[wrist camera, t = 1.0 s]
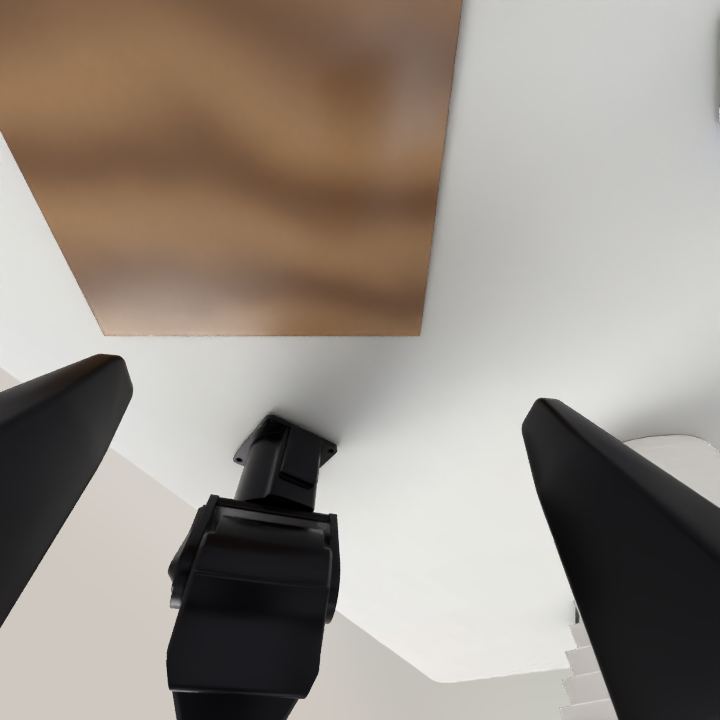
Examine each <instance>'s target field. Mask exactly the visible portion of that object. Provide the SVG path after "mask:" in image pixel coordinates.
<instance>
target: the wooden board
mask: <svg viewBox="0 0 720 720" xmlns="http://www.w3.org/2000/svg"><path fill="white" fill-rule="evenodd" d="M462 1H463V0H0V131H1V133H2V135H3V137H4V139H5V141H6V143H7V145H8V147H9V149H10V151H11V153H12V155H13V157H14V159H15V161H16V163H17V165H18V167H19V169H20V171H21V172H22V174H23V176H24V178H25V180H26V182H27V184H28V186H29V188H30V190H31V192H32V194H33V196H34V198H35V200H36V202H37V204H38V206H39V208H40V210H41V212H42V214H43V216H44V218H45V220H46V222H47V224H48V226H49V228H50V230H51V232H52V234H53V235H54V237H55V239H56V241H57V243H58V245H59V247H60V249H61V251H62V253H63V255H64V257H65V259H66V261H67V263H68V265H69V267H70V269H71V271H72V273H73V275H74V277H75V279H76V281H77V283H78V285H79V287H80V289H81V291H82V293H83V295H84V297H85V298H86V300H87V302H88V304H89V306H90V308H91V310H92V312H93V314H94V316H95V318H96V320H97V322H98V324H99V326H100V328H101V330H102V332H103V334H104V336H420V331H421V323H422V315H423V307H424V299H425V291H426V284H427V276H428V268H429V260H430V252H431V244H432V237H433V229H434V221H435V213H436V205H437V197H438V190H439V182H440V174H441V166H442V158H443V150H444V143H445V135H446V127H447V119H448V111H449V103H450V96H451V88H452V80H453V72H454V64H455V56H456V49H457V41H458V33H459V25H460V17H461V9H462Z"/></svg>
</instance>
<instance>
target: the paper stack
mask: <svg viewBox="0 0 720 720" xmlns="http://www.w3.org/2000/svg"><path fill="white" fill-rule="evenodd" d="M622 443H624V444H625V445H627V446H628V447H630V448H631V449H633V450H634V451H636V452H637V453H639V454H640V455H642V456H643V457H645V458H646V459H648V460H649V461H651V462H652V463H654V464H655V465H657V466H658V467H660V468H661V469H663V470H664V471H666V472H667V473H669V474H670V475H672V476H673V477H675V478H676V479H678V480H679V481H681V482H682V483H684V484H685V485H687V486H688V487H690V488H691V489H693V490H694V491H695V492H697V493H698V494H700V495H701V496H703V497H704V498H706V499H707V500H709V501H710V502H712V503H713V504H715V505H716V506H718V507H719V508H720V452H718V451H717V449H716V448H715V447H714V446H712V445H711V444H709V443H707V442H706V441H704V440H702V439H699V438H696V437H693V436H689V435H669V436H653V437H645V438H640V439H635V440H630V441H626V442H622ZM547 524H548V523H547ZM548 527H549V526H548ZM550 532H551V531H550ZM552 539H553V537H552ZM553 541H554V540H553ZM554 543H555V542H554ZM574 603H575V606H576V608H577V611H578V613H579V615H580V612H579V609H578V607H577V604H576V601H575V600H574ZM580 618H581V615H580ZM581 620H582V618H581ZM569 627H570V629H571V632H572V635H573V637H574V640H575V642H576V645H577V648H578V649H575V650H570V651H566V652H565V653H566V656H567V658H568V661H569V663H570V666H571V669H572V671H573V674H574V677H570V678H565V679H562V681H563V684H564V686H565V689H566V692H567V695H568V697H569V700H570V703H571V705H572V706H567V707H561V708H559V709H560V712H561V715H562V718H563V720H618V718H617V715H616V712H615V710H614V707H613V704H612V701H611V698H610V696H609V693H608V690H607V687H606V685H605V682H604V679H603V676H602V673H601V671H600V668H599V665H598V662H597V659H596V657H595V654H594V651H593V648H592V646H591V643H590V640H589V637H588V634H587V632H586V629H585V626H584V623H583V620H582V622H581V623H577V624H573V625H569Z"/></svg>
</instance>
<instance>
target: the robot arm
mask: <svg viewBox="0 0 720 720" xmlns="http://www.w3.org/2000/svg"><path fill="white" fill-rule="evenodd" d="M132 394H133V385H132V382H131V379H130V376H129V373H128V370H127V366H126V363H125V361H124V359H123V358H122V357H120V356H118V355H108V354H97V355H94V356H91V357H89V358H86V359H84V360H81V361H79V362H76V363H73V364H71V365H68V366H66V367H63V368H61V369H58V370H56V371H53V372H51V373H48V374H45V375H43V376H40V377H38V378H35V379H33V380H30V381H28V382H25V383H23V384H20V385H18V386H15V387H12V388H10V389H7V390H5V391H2V392H0V628H1V626H2V624H3V623H4V621H5V619H6V618H7V616H8V614H9V613H10V611H11V609H12V608H13V606H14V605H15V603H16V601H17V600H18V598H19V596H20V595H21V593H22V592H23V590H24V588H25V587H26V585H27V583H28V582H29V580H30V578H31V577H32V575H33V573H34V572H35V570H36V569H37V567H38V565H39V564H40V562H41V560H42V559H43V557H44V555H45V554H46V552H47V550H48V549H49V547H50V546H51V544H52V542H53V541H54V539H55V537H56V535H57V534H58V532H59V531H60V529H61V527H62V526H63V524H64V523H65V521H66V519H67V518H68V516H69V514H70V513H71V511H72V510H73V508H74V506H75V505H76V503H77V501H78V500H79V498H80V496H81V495H82V493H83V491H84V490H85V488H86V486H87V485H88V483H89V482H90V480H91V478H92V477H93V475H94V473H95V472H96V470H97V468H98V466H99V465H100V463H101V461H102V459H103V457H104V455H105V453H106V452H107V449H108V447H109V445H110V443H111V441H112V439H113V437H114V434H115V432H116V430H117V428H118V426H119V424H120V422H121V419H122V417H123V415H124V413H125V411H126V409H127V407H128V404H129V402H130V400H131V398H132ZM522 435H523V439H524V443H525V447H526V451H527V455H528V459H529V463H530V467H531V472H532V476H533V480H534V484H535V487H536V491H537V494H538V497H539V500H540V503H541V506H542V509H543V512H544V515H545V517H546V520H547V523H548V526H549V529H550V531H551V534H552V537H553V540H554V542H555V545H556V548H557V551H558V554H559V556H560V559H561V562H562V565H563V568H564V570H565V573H566V576H567V579H568V581H569V584H570V587H571V590H572V593H573V595H574V598H575V601H576V604H577V607H578V609H579V612H580V615H581V618H582V620H583V623H584V626H585V629H586V632H587V634H588V637H589V640H590V643H591V646H592V648H593V651H594V654H595V657H596V659H597V662H598V665H599V668H600V671H601V673H602V676H603V679H604V682H605V685H606V687H607V690H608V693H609V696H610V698H611V701H612V704H613V707H614V710H615V712H616V715H617V718H618V720H720V508H719V507H718V506H716V505H715V504H713V503H712V502H710V501H709V500H707V499H706V498H704V497H703V496H701V495H700V494H698V493H697V492H695V491H694V490H693V489H691V488H690V487H688V486H687V485H685V484H684V483H682V482H681V481H679V480H678V479H676V478H675V477H673V476H672V475H670V474H669V473H667V472H666V471H664V470H663V469H661V468H660V467H658V466H657V465H655V464H654V463H652V462H651V461H649V460H648V459H646V458H645V457H643V456H642V455H640V454H639V453H637V452H636V451H634V450H633V449H631V448H630V447H628V446H627V445H625V444H624V443H622V442H621V441H619V440H618V439H616V438H615V437H613V436H612V435H610V434H609V433H607V432H606V431H604V430H603V429H601V428H600V427H598V426H597V425H595V424H594V423H593V422H591V421H590V420H588V419H587V418H585V417H584V416H582V415H581V414H579V413H578V412H576V411H575V410H573V409H572V408H570V407H569V406H567V405H566V404H564V403H563V402H561V401H560V400H557V399H551V398H539V399H537V400H536V401H535V402H534V404H533V406H532V408H531V409H530V411H529V413H528V415H527V416H526V418H525V420H524V422H523V424H522ZM336 452H337V445H336V444H334V443H332V442H330V441H328V440H326V439H323V438H321V437H319V436H317V435H315V434H313V433H311V432H309V431H307V430H305V429H302V428H300V427H298V426H296V425H294V424H292V423H290V422H288V421H286V420H283V419H281V418H279V417H277V416H275V415H267V416H266V417H265V418H264V419H263V421H262V422H261V423H260V424H259V426H258V427H257V428H256V429H255V430H254V432H253V433H252V434H251V435H250V436H249V438H248V439H247V440H246V441H245V443H244V444H243V445H242V446H241V447H240V449H239V450H238V451H237V452H236V453H235V455H234V458H233V460H234V462H236V463H238V464H240V465H243V466H244V469H243V472H242V475H241V478H240V482H239V485H238V488H237V491H236V494H235V498H234V499H228V498H222V497H219V496H218V495H212V494H211V495H210V498H209V500H208V502H207V504H206V505H203V507H200V508H199V509H198V512H197V514H196V517H195V519H194V522H193V524H192V527H191V529H190V531H189V533H188V535H187V537H186V538H185V540H184V542H183V543H182V545H181V547H180V548H179V550H178V552H177V553H176V555H175V557H174V558H173V560H172V561H171V564H170V566H169V569H168V574H169V576H170V578H171V580H172V582H173V583H172V588H171V592H172V595H171V600H170V608H175V609H179V613H178V616H177V619H176V622H175V626H174V629H173V632H172V636H171V639H170V642H169V645H168V649H167V661H166V666H167V677H168V686H169V690H170V691H172V693H173V698H174V705H175V711H176V718H177V720H286V719H287V718H288V716H289V714H290V713H291V711H292V709H293V707H294V706H295V704H296V703H297V701H298V699H305V698H306V697H307V695H308V693H309V691H310V689H311V687H312V685H313V683H314V681H315V679H316V677H317V675H318V672H319V665H320V653H321V647H322V640H323V633H324V625H325V624H329V623H330V622H331V620H332V618H333V615H334V612H335V608H336V604H337V598H338V592H339V583H340V554H339V539H338V524H337V514H330V513H329V515H328V514H322V513H315V512H313V511H314V506H315V497H316V488H317V483H318V474H319V468H320V467H321V466H323V465H324V464H325V463H326V462H327V461H328V460H329V459H330V458H331V457H332V456H333V455H334V454H336Z"/></svg>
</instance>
